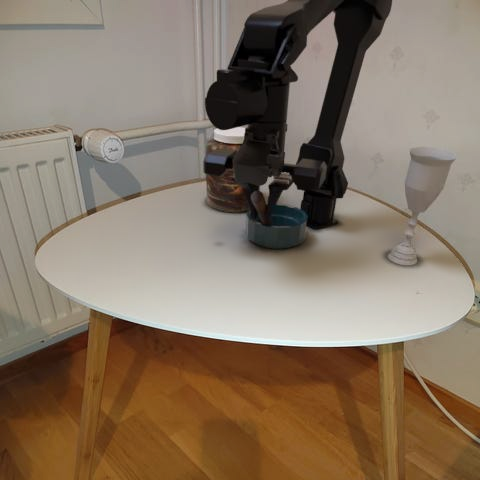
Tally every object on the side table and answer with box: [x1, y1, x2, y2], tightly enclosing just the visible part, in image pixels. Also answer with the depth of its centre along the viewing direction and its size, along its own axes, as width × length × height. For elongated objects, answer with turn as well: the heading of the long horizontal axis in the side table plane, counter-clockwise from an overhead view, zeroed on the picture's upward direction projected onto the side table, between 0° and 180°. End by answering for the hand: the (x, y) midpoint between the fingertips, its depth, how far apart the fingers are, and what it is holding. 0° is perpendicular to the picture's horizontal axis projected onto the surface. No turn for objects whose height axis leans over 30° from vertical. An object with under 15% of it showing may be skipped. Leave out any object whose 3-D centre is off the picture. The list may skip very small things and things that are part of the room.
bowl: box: [245, 203, 308, 250], centre depth 79 cm, size 11×11×4 cm
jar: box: [205, 126, 261, 213], centre depth 89 cm, size 12×12×15 cm
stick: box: [251, 190, 275, 226], centre depth 71 cm, size 2×2×13 cm
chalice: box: [387, 146, 458, 266], centre depth 69 cm, size 7×7×18 cm
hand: (261, 219), depth 71 cm, fingers closed on stick, 2 cm apart
